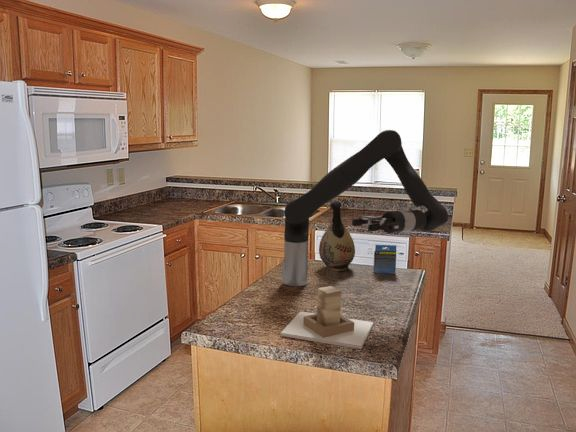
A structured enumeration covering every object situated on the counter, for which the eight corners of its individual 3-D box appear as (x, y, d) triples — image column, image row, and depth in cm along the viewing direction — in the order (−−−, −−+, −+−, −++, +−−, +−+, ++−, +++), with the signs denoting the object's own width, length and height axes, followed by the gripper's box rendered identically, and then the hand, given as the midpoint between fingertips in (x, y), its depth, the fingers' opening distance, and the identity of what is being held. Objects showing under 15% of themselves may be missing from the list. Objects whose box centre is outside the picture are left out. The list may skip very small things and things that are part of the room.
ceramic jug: (317, 263, 225) (319, 196, 220) (352, 263, 225) (355, 197, 219) (319, 274, 209) (321, 202, 203) (356, 275, 208) (359, 203, 203)
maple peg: (316, 325, 154) (317, 288, 152) (330, 322, 156) (331, 285, 154) (325, 331, 150) (327, 293, 147) (339, 328, 152) (341, 290, 150)
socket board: (280, 335, 149) (281, 324, 148) (300, 314, 165) (300, 304, 165) (361, 349, 141) (361, 337, 140) (373, 325, 157) (373, 314, 157)
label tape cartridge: (394, 271, 215) (395, 243, 212) (395, 274, 211) (397, 245, 208) (373, 270, 215) (374, 242, 213) (373, 273, 212) (375, 244, 209)
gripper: (385, 207, 177) (348, 210, 169) (414, 214, 165) (375, 217, 157) (384, 228, 178) (347, 232, 171) (412, 236, 166) (374, 241, 158)
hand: (360, 225), depth 164 cm, fingers open, 8 cm apart
